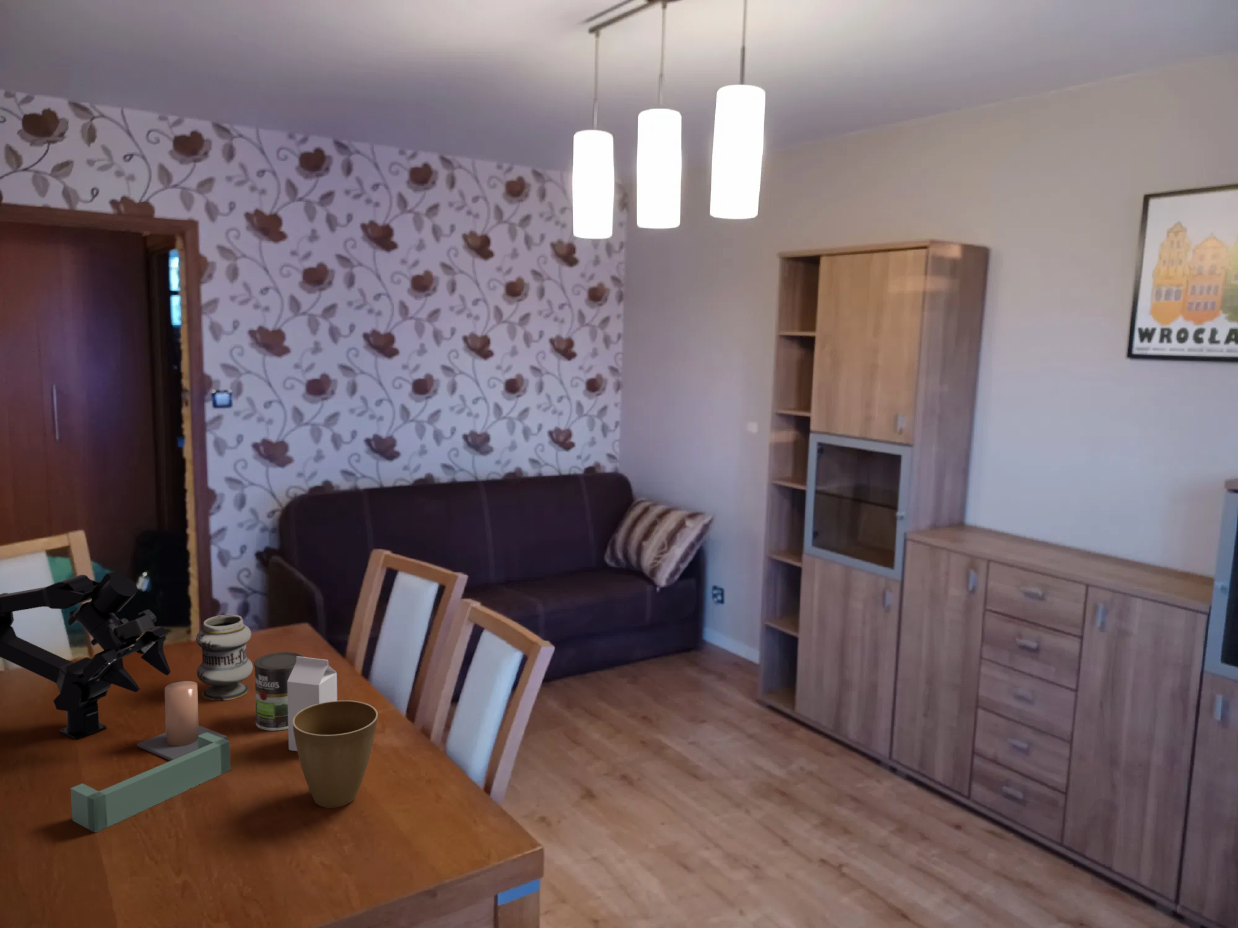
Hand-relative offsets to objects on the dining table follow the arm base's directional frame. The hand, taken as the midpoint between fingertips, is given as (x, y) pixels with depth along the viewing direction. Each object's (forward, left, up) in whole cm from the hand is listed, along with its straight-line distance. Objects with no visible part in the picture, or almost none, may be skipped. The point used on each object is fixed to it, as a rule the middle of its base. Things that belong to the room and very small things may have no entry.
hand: (153, 682), depth 179 cm
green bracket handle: (+20, -13, -13) cm, 27 cm away
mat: (+6, +2, -13) cm, 14 cm away
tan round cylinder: (+6, +2, -12) cm, 13 cm away
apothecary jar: (-9, +23, -13) cm, 28 cm away
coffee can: (+14, +20, -13) cm, 28 cm away
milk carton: (+29, +16, -13) cm, 35 cm away
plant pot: (+49, +4, -13) cm, 51 cm away
